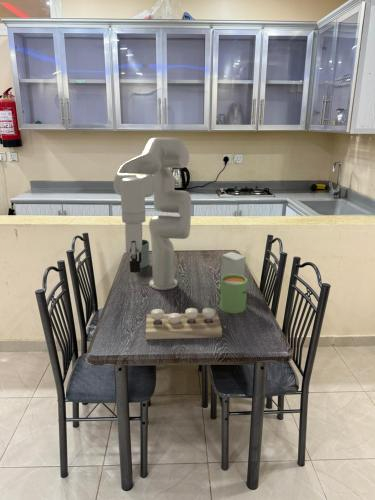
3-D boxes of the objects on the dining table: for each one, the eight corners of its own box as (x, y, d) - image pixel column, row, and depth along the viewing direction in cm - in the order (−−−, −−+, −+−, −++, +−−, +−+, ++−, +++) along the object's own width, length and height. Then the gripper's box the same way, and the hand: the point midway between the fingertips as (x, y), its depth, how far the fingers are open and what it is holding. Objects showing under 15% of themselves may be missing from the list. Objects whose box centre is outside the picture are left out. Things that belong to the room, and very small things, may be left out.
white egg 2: (185, 320, 142) (185, 308, 141) (197, 320, 143) (197, 307, 141) (185, 326, 138) (185, 314, 137) (198, 326, 139) (198, 313, 137)
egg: (201, 320, 143) (201, 307, 141) (213, 319, 143) (214, 307, 141) (202, 326, 139) (203, 313, 137) (215, 326, 139) (215, 313, 137)
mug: (246, 314, 152) (247, 285, 148) (218, 312, 153) (219, 283, 149) (247, 299, 163) (249, 273, 159) (222, 297, 165) (223, 271, 161)
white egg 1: (168, 325, 143) (168, 313, 141) (180, 325, 143) (180, 312, 141) (168, 331, 139) (168, 319, 137) (181, 331, 139) (181, 318, 137)
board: (147, 321, 146) (147, 314, 145) (217, 319, 147) (217, 312, 146) (145, 339, 135) (145, 331, 134) (221, 337, 136) (222, 329, 135)
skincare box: (219, 287, 174) (220, 254, 169) (229, 283, 178) (231, 251, 173) (234, 294, 168) (235, 259, 163) (244, 289, 173) (246, 256, 167)
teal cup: (145, 269, 194) (144, 246, 190) (126, 267, 197) (125, 244, 193) (152, 262, 204) (152, 240, 200) (134, 260, 206) (133, 238, 202)
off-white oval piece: (151, 321, 142) (151, 309, 140) (164, 321, 142) (163, 308, 140) (151, 327, 138) (150, 315, 136) (164, 327, 138) (163, 314, 136)
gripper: (124, 210, 135) (126, 258, 141) (119, 224, 119) (122, 277, 125) (146, 209, 136) (148, 257, 142) (144, 223, 119) (146, 277, 125)
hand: (135, 266), depth 133 cm, fingers open, 8 cm apart
